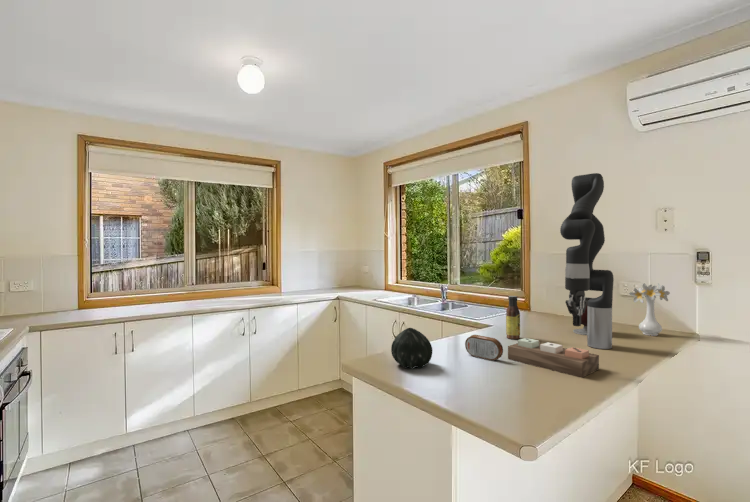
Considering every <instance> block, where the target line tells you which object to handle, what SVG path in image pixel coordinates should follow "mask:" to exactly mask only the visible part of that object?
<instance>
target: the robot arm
mask: <svg viewBox="0 0 750 502" xmlns="http://www.w3.org/2000/svg"><path fill="white" fill-rule="evenodd" d="M604 182H605V181H604V177H603V175H602V174H601V173H598V172H597V173H596V172H594V173H587V174H579V175H575V176H573V177H572V179H571V191H572V197H573V201H574V204H573V205H572V208H571V211H570V214H569V215H568V216H566V217H565V219H563V221H562V224H560V225H561V226H560V228H559V229H560V232H559V233H560V235H561V237H562V238H563V239H564V240H568V241H569V240H570V241H574V240H578V241H579V245H574V246H568V247H567V248H566V250H565V251H566V252H565V270H564V273H565V274H564V275H565V277H564V280H565V281H564V285H565V286H564V288H565V290H567V291H569V294H568V300H565V304H566V305H565V306H566V307H567V310H568V313H569V314H571V316H572V315H573V316H572V325H573V327H581V326H582V324H581V315H582V313H584V312H585V309H586V306H587V313H588V314H587V335H586V337H587V340H586V341H587V347H590V348H594V349H600V350H609V349H610V350H611V349H612V348H613V301H614V300H613V294H614V280H615V279H614V274H613V273H614V272H612V271H611V270H609V269H594V268H593V265H594V264H593V263H594V261H595V258H597V255H598V254H599V252H600V251H601V250H602V248H603V246H604V244H605V241H606V240H605V238H606V237H605V230H604V225H603V224H602V222H601V221H600V220H599V219H598V218H597V216H596V215H595V214H594V211H595V208H596V206H597V204H598V202H599V200H600V199H601V197H602V195H603V192H604V190H605V189H604V188H605V183H604ZM585 291H586V292H587V291H595V292H602V293H601V295H599V296H598V297H597V296H596V297H591V298H592V299H589V300H588V298H585V297H586V292H585ZM587 302H588V303H587Z"/></svg>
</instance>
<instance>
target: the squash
mask: <svg viewBox="0 0 750 502" xmlns="http://www.w3.org/2000/svg"><path fill="white" fill-rule="evenodd" d="M390 347H391V350H390V351H391V356H392V358H393V359H394V360H395V362H396V363H398V365H400V366H401V367H402V368H403V369H406V368H405V367H407V368H409V369H411V368H413V369H414V368H418V367H419V368H423V367H424V366H426V365H428V364H429V363H430V362H431V360H432V357H433V346H432V343H431V342H430V340H429V338H427V336H425V334H423V333H422V332H421V331H419V330H418V329H415V328H413V327H407V328H405V329H404V330H402V331H401V332H399V333H398V334H397V335H396V337H394V339H393V341H392V343H391V346H390Z"/></svg>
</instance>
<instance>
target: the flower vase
mask: <svg viewBox="0 0 750 502" xmlns="http://www.w3.org/2000/svg"><path fill="white" fill-rule="evenodd" d="M657 284H658V285H653V284H649V285H647V284H646V283H642V285H641V286H642V287H639V288H636V287H635V288H634V289H633V291H634V292H632V291H630V292H629V295H630V296H632V297H633V302H634V303H638V301H639V302H640V303H642V304H644V298H645V301H646V311H645V314H646V315H645V317H644V319H643V321H640V323H639V325H638V329H639V330H640V331H641V332H642V334H643V335H645V336H650V335H651V337H652V336H653V337H654V336H655V337H656V336H657V337H658V335H659V333H662V331H663V326H662V325H661V324H660V322H658V320H657V318H656V315H655V301H656V298H657V296H659V300H660V301H662V300H665V301H666V302H669V299H668V298H669V297H668V296H670V294H671V293H670V291H668V290H666V287H665V285H660V283H657ZM657 286H658V287H657ZM643 297H644V298H643Z"/></svg>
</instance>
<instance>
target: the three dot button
mask: <svg viewBox="0 0 750 502" xmlns="http://www.w3.org/2000/svg"><path fill="white" fill-rule="evenodd" d="M589 353H590V350H588V349H583V348H580V347H579V348H578V347H572V346H571V347H568V348H567V349H566V350H565V356H569V357H573V358H578V359H585V358H587V357H589Z"/></svg>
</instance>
